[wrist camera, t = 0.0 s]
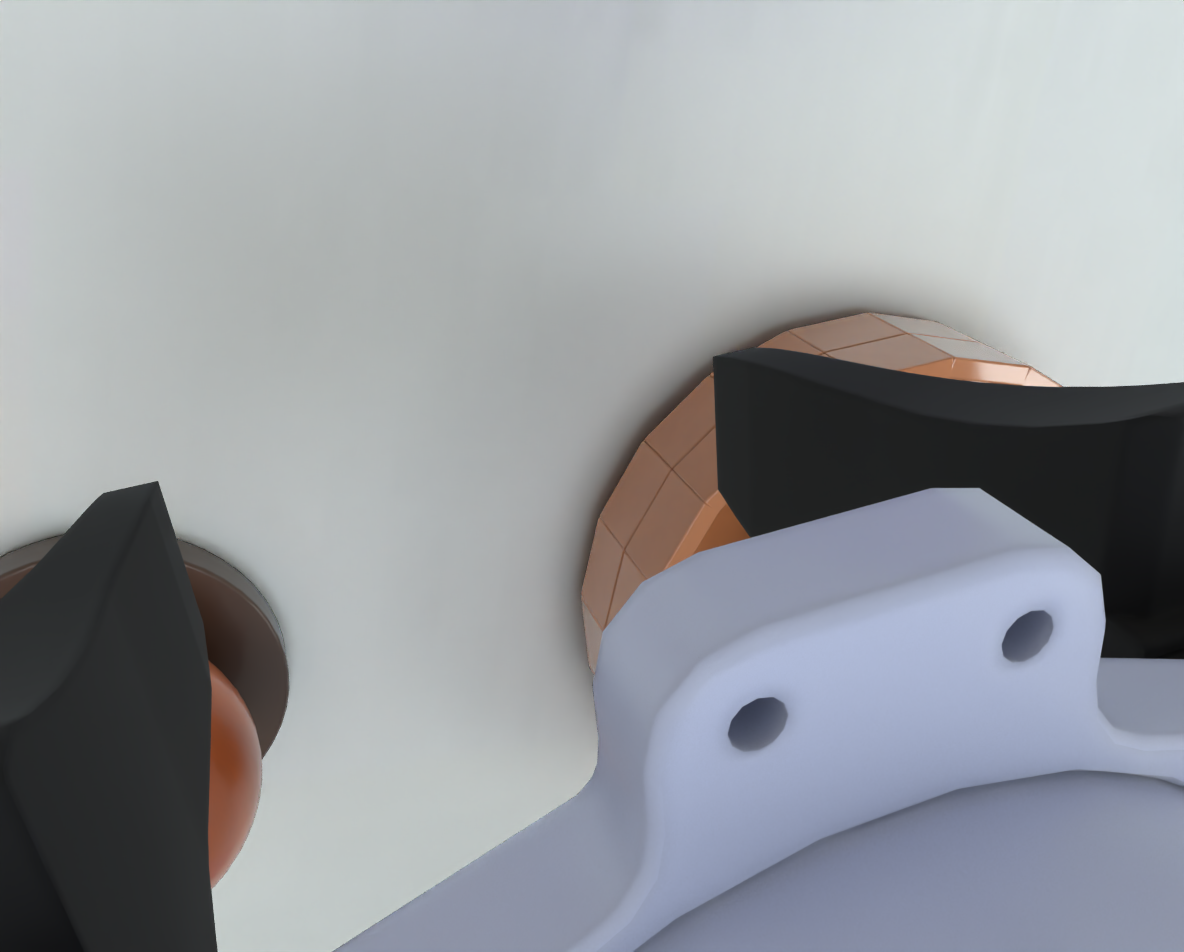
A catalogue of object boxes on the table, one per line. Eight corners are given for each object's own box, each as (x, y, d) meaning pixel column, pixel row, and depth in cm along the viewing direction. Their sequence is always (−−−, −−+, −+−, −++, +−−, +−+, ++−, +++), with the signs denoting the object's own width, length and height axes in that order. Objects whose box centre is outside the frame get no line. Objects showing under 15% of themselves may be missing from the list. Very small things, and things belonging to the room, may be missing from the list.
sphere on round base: (315, 754, 27) (354, 965, 21) (-12, 852, 25) (-64, 1112, 19) (242, 492, 23) (266, 661, 18) (-146, 581, 21) (-258, 805, 16)
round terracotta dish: (1000, 679, 35) (1089, 757, 31) (599, 814, 31) (652, 919, 28) (1048, 263, 28) (1168, 306, 25) (548, 372, 25) (609, 439, 21)
